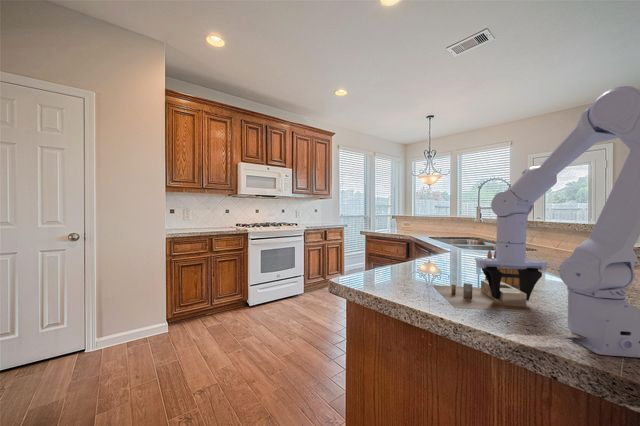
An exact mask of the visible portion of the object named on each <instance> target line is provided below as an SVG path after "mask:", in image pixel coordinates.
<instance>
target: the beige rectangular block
mask: <svg viewBox="0 0 640 426" xmlns="http://www.w3.org/2000/svg"><path fill="white" fill-rule="evenodd" d="M480 288H481V291H482V292H483V293H485V294H486V295H488V296H489V297H491V298H493V299H494V300H496V301H497V302H499V303H500V304H502V305H507V306H526V304H527V301H526V297H527V294H526V293H524V292H522V291H520V289H518V288H516V287H515V286H514V287H513V285H512V286H510V285H508V284H506V283H504V282H500V298H499V299H495V298H494V297H492V294H491V289H490V286H489V283H488V281H487V280H485V279H483V280H480Z"/></svg>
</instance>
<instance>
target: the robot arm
mask: <svg viewBox="0 0 640 426" xmlns="http://www.w3.org/2000/svg"><path fill="white" fill-rule="evenodd" d="M616 139H619V140H620V141H621V142H622V143H623V144H624V145H625V146H626V147H627V148H628V149H629V153H628V155H627V156H626V160H625V161H624V164H623V165H622V168H621V170H620V172H619V174H618V176H617V178H616V180H615V182H614V184H613V186H612V189H611V191H610V193H609V195H608V197H607V199H606V202H605V204H604V205H603V208H602V209H601V211H600V214H599V215H598V218H597V220H596V223H595V224H594V226H593V229H592V231H591V233H590V234H589V237H588V238H587V239H585V240H584V241H583V242H581V243H580V244H578V246H576V247H575V248H574V250H573V252H572V254H571V255H570V256H569V257H567V258H566V259H564V260H563V261H562V262H561V263H560V265H559V269H558V273H559V277H560V279H561V281H562V282H563V283H564V284H565V285H566V286H567V288H566V290H567V329H568V330H569V331H571V332H572V333H575V334H577V335H579V336H581V337H574V336H573V337H572V336H570V337H568V338H569V339H571V340H573V341H574V342H576V343H577V344H580V345H581V346H583V347H584V348H586V349H587V350H589V351H591V352H593V353H594V354H597V355H599V356H601V355H602V356H616V357H630V358H640V308H639V307H637V306H636V305H633V304H631V303H630V302H629V301H628V299H627V298H626V297H627V294H626V288H627V287H629V286H631V285H632V284H633V283H634V282H635V279H636V272H635V264H636V262H637V259H638V255H637V253H636V252H635V250H634V247H635V245H636V243H637V241H638V239H639V238H640V89H639V88H637V87H634V86H631V85H621V86H617V87H614V88H611V89H608V90H606V91H605V92H603V93H602V94H600V95H599V96H598V97H597V98H596V99H595V100H594V101H593V103H592V104H591V106H589V107H588V108H586V109H585V110H584V111H583V112H582V113H581V115H580V117H579V119H578V121H577V124H576V126H575V127H574V128H572V130H571V131H570V132H569V133H568V134H567V135H566V136H565V138H564V139H563V140H562V141H561V142H560V143H559V144H558V145H557V146H556V147H555V149H554V150H553V151H552V152H551V153H550V154H549V156H547V157H546V159H545V160H544V161H543V162H542V163H541V165H537V166H535V165H534V166H530V167H529V168H528V169H526V168H525V169H524V170H523V171H522V172H521V174H522V175H521V176H520V177H519V178H518V179H517V180H516V181H515V182H514V183H513V184H512V185H510V186H509V187H507V189H506V190H505V191H500V192H497V193H496V194H495V195H494V197H493V198H492V200H491V204H490V207H491V211H492V212H493V214H495V215H496V249H495V250H496V259H494V258H492V259H487V258H476V264H475V265H476V266H475V267H477V268H478V269H481V270H482V272H483V275H484V276H486V278H487V281H488V283H489V286H490V289H491V294H492V297H494V298H495V299H499V298H500V282H501V277H502V274H503V273H502V272H500V271H499V270H497V268H506V269H518V273H519V279H520V286H519V290H520V291H522V292H524V293H526V294H527V297H526V302H528V301H529V300H530V298H531V295H532V293H533V289H534V287H535V286H536V284H537V283H538V281H539V280H540V279H541V278H542V277H543V272H542V271H548V270H547V263H548V262H546V261H543V260H530V259H527V258H526V257H527V256H526V255H527V254H526V252H527V249H526V248H527V222H528V219H529V218H528V217H529V215H530V213H532V211H533V209H534V203H535V202H537V200H539V199H540V198H541V197H543V196H544V195H545V194H546V193H547V192H548V191H549V190H551V188H553V187H554V186H555V185H556V184H557V182H558V180H557V179H558V175H559V173H561V172H562V171H563V170H564V169H566V168H567V167H568V166H570V165H571V164H572V163H573V162H574V161H575V160H577V159H578V158H580V156H582V155H583V154H584V153H586V152H588V150H589V149H590V148H592V147H593V146H594V145H595V144H597V143H598V144H599V143H603V142H607V141H611V140H616ZM504 265H505V266H504Z"/></svg>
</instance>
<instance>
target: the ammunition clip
mask: <svg viewBox="0 0 640 426" xmlns="http://www.w3.org/2000/svg"><path fill="white" fill-rule="evenodd" d="M493 253H494V254H493ZM493 253H492V251H491V249H489V250H488V252H487V257H486V259H496V249H495V250H494V252H493ZM492 255H493V256H492ZM504 266H505V265H504ZM497 270H499V271H500V272H502V273H503V274H502V277H501V282H504V283H506V284H508V285H510V286H512V287H513V286H514V287H515V286H516V287H520V279H519V273H518V269H506V268H497ZM484 276H485V275H484ZM484 280H487V278H486V276H485V279H484Z"/></svg>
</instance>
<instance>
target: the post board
mask: <svg viewBox="0 0 640 426" xmlns="http://www.w3.org/2000/svg"><path fill="white" fill-rule="evenodd" d="M432 287H433V288H434V289H435V290H436V292H438V293H439V294H440V295H441V296H442V297H443V298H444V299H445V300H446V301H447V302H448V303H449V305H451V306H452V307H453V308H455V309H469V310H470V309H471V310H484V311H485V310H487V311H503V312H505V311H506V312H518V313H519V312H521V313H537V314H539V313H540V314H541V313H542V311H540V310H538V309H536V308H535V307H533V306H531V305H529V304H527V303H526V306H507V305H502V304H500V303H499V302H497V301H496V300H494V299H493V298H491V297H489V296H488V295H486V294H485V293H483V292H482V291H481V286H480V287H477V286H476V287H475V286H473V284H472V283H469V282H463V286H458V285H457V284H456V283H451V285H433V284H432Z"/></svg>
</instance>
